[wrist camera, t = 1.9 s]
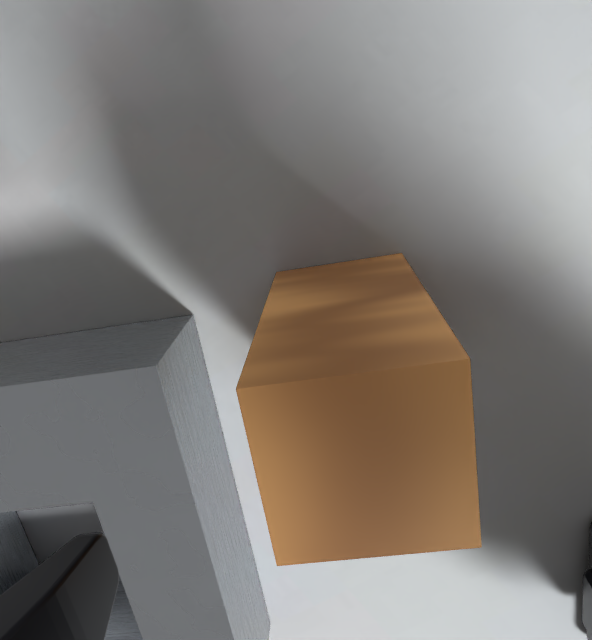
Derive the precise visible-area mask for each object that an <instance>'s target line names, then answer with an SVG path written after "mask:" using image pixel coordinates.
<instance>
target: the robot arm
mask: <svg viewBox="0 0 592 640" xmlns="http://www.w3.org/2000/svg"><path fill="white" fill-rule="evenodd" d="M118 583H119V571H118V567H117V564H116V562H115V559H114V556H113V553H112V551H111V548H110V545H109V542H108V540H107V538H106V536H105V535H104V534H103V533H88V534H81V535H78V536H76V537H75V538H73V539H72V540H71V541H70V542H68V543H67V544H66V545H64V546H63V547H62V548H61V549H59V550H58V551H57V552H55V553H54V554H53V555H52V556H50V557H49V558H48V559H46V560H45V561H44V562H42V563H41V564H40V565H39V566H37V567H36V568H35V569H33V570H32V571H31V572H30V573H28V574H27V575H26V576H24V577H23V578H22V579H21V580H19V581H18V582H17V583H15V584H14V585H13V586H11V587H10V588H9V589H8V590H6V591H5V592H4V593H2V594H1V595H0V640H104V639H105V635H106V631H107V627H108V623H109V619H110V615H111V612H112V608H113V604H114V600H115V596H116V592H117V588H118ZM582 621H583V624H584V626H585V628H586V630H587V638H588V640H592V522H591V525H590V537H589V569H587V570H586V572H585V573H584V575H583V611H582Z"/></svg>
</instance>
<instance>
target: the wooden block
mask: <svg viewBox="0 0 592 640" xmlns="http://www.w3.org/2000/svg"><path fill="white" fill-rule="evenodd" d="M236 392H237V396H238V400H239V404H240V409H241V413H242V417H243V422H244V426H245V430H246V435H247V439H248V443H249V448H250V452H251V456H252V460H253V465H254V469H255V473H256V478H257V482H258V486H259V491H260V495H261V499H262V503H263V508H264V512H265V516H266V521H267V525H268V529H269V534H270V538H271V542H272V547H273V551H274V555H275V559H276V564H277V566H282V565H293V564H304V563H315V562H326V561H337V560H348V559H359V558H370V557H381V556H392V555H403V554H414V553H425V552H436V551H447V550H458V549H469V548H480V547H482V546H481V530H480V513H479V496H478V480H477V463H476V446H475V430H474V413H473V396H472V380H471V363H470V358H469V356H468V355H467V353H466V352H465V350H464V348H463V347H462V345H461V344H460V342H459V341H458V339H457V338H456V336H455V335H454V333H453V331H452V330H451V328H450V327H449V325H448V324H447V322H446V321H445V319H444V318H443V316H442V314H441V313H440V311H439V310H438V308H437V307H436V305H435V304H434V302H433V301H432V299H431V298H430V296H429V294H428V293H427V291H426V290H425V288H424V287H423V285H422V284H421V282H420V281H419V279H418V277H417V276H416V274H415V273H414V271H413V270H412V268H411V267H410V265H409V264H408V262H407V261H406V259H405V257H404V256H403V254H402V253H399V254H392V255H385V256H379V257H372V258H366V259H359V260H353V261H346V262H339V263H333V264H326V265H320V266H313V267H307V268H300V269H293V270H287V271H280V272H276V274H275V277H274V280H273V283H272V286H271V289H270V292H269V295H268V297H267V300H266V303H265V306H264V309H263V312H262V315H261V318H260V321H259V324H258V326H257V329H256V332H255V335H254V338H253V341H252V344H251V347H250V350H249V352H248V355H247V358H246V361H245V364H244V367H243V370H242V373H241V376H240V379H239V381H238V384H237V387H236Z"/></svg>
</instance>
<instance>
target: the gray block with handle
mask: <svg viewBox="0 0 592 640" xmlns="http://www.w3.org/2000/svg"><path fill="white" fill-rule="evenodd" d="M85 503H93V505H94V507H95V510H96V513H97V515H98V518H99V521H100V524H101V526H102V529H103V532H104V535H105V536H106V538H107V540H108V542H109V545H110V548H111V551H112V553H113V556H114V559H115V562H116V564H117V567H118V571H119V583H118V588H117V592H116V596H115V600H114V604H113V608H112V612H111V615H110V619H109V623H108V627H107V631H106V635H105V639H104V640H269V631H270V620H269V616H268V612H267V608H266V604H265V600H264V596H263V592H262V588H261V584H260V580H259V576H258V572H257V568H256V564H255V560H254V556H253V552H252V548H251V544H250V540H249V536H248V532H247V528H246V524H245V520H244V516H243V512H242V508H241V504H240V500H239V496H238V492H237V488H236V484H235V480H234V476H233V472H232V468H231V464H230V460H229V456H228V452H227V448H226V444H225V440H224V436H223V432H222V428H221V424H220V420H219V416H218V412H217V408H216V404H215V400H214V396H213V392H212V388H211V384H210V380H209V376H208V372H207V368H206V364H205V360H204V356H203V352H202V348H201V344H200V340H199V336H198V332H197V328H196V324H195V320H194V316H193V315H188V316H181V317H174V318H167V319H160V320H154V321H147V322H140V323H133V324H126V325H119V326H112V327H105V328H99V329H92V330H85V331H78V332H71V333H64V334H57V335H51V336H44V337H37V338H30V339H23V340H16V341H9V342H3V343H0V595H1V594H2V593H4V592H5V591H6V590H8V589H9V588H10V587H11V586H13V585H14V584H15V583H17V582H18V581H19V580H21V579H22V578H23V577H24V576H26V575H27V574H28V573H30V572H31V571H32V570H33V569H35V568H36V567H37V566H39V564H38V562H37V559H36V557H35V555H34V552H33V550H32V548H31V545H30V543H29V541H28V538H27V536H26V534H25V531H24V529H23V527H22V524H21V522H20V520H19V517H18V515H17V513H16V511H20V510H30V509H39V508H48V507H58V506H67V505H76V504H85Z"/></svg>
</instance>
